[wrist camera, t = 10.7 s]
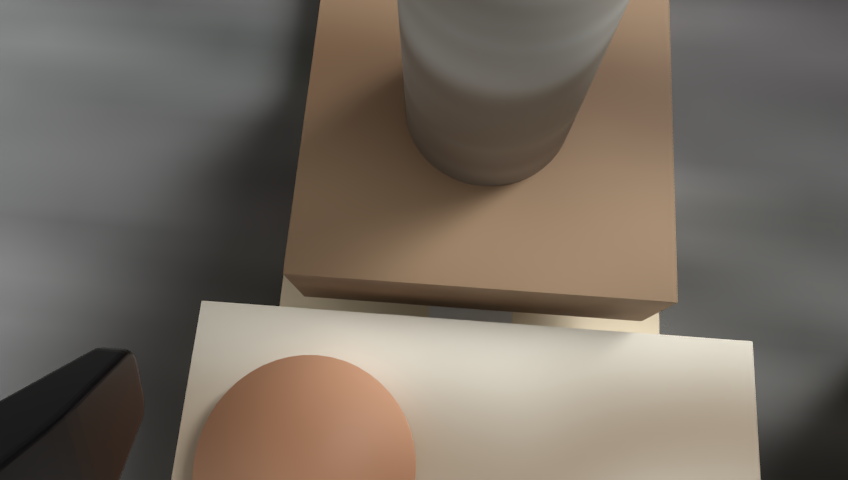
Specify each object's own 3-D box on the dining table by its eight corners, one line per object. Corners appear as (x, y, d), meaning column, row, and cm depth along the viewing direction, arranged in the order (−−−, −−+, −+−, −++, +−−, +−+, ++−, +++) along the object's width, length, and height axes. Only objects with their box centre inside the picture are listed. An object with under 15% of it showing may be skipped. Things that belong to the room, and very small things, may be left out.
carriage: (641, 321, 16) (1011, 127, 6) (304, 296, 16) (90, 69, 6) (637, 25, 18) (899, -490, 8) (340, 7, 18) (230, -515, 8)
